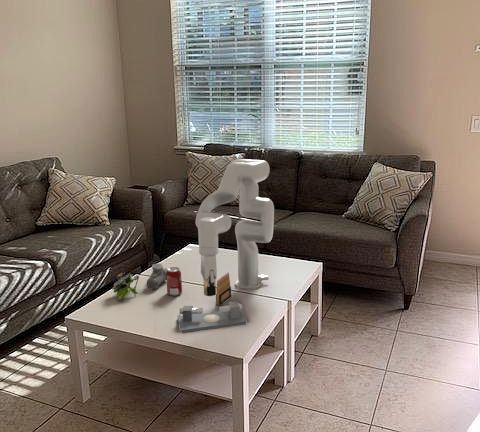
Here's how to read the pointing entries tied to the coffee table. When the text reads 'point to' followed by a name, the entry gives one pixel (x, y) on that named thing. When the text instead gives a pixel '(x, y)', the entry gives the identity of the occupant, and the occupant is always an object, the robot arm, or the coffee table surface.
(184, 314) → the grey block on rod
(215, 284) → the tan rounded cylinder
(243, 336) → the coffee table surface
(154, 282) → the pipe fitting
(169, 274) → the soda can
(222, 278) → the ammunition clip
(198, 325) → the shaft rig
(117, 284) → the passion flower
